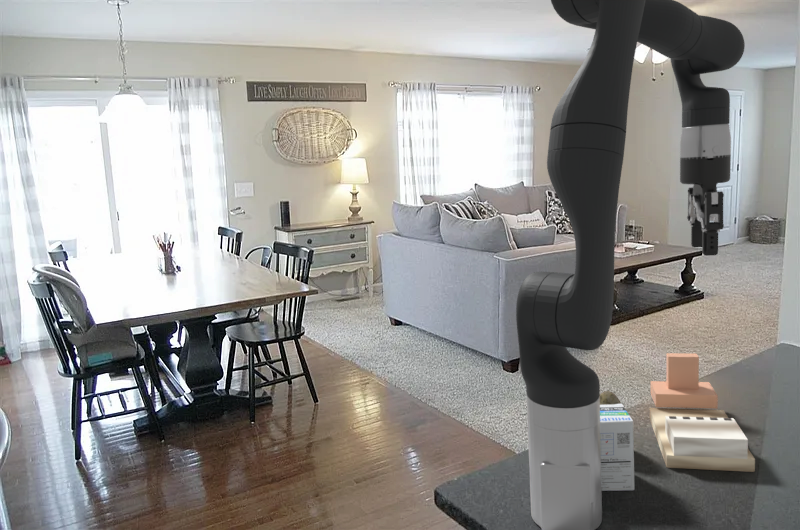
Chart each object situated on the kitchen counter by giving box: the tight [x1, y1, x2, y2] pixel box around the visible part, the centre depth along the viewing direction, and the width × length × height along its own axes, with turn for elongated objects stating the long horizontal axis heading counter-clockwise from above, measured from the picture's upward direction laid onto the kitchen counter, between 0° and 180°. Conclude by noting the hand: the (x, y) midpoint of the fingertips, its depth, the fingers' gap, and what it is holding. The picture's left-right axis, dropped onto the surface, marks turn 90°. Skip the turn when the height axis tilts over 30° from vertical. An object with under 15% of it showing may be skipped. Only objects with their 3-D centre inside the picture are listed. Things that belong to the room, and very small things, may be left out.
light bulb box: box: [600, 403, 635, 492], centre depth 91 cm, size 11×7×11 cm, turn 84°
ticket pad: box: [649, 407, 756, 473], centre depth 101 cm, size 18×12×5 cm, turn 166°
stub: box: [650, 352, 719, 410], centre depth 111 cm, size 6×10×8 cm, turn 76°
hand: (703, 251), depth 105 cm, fingers open, 8 cm apart
